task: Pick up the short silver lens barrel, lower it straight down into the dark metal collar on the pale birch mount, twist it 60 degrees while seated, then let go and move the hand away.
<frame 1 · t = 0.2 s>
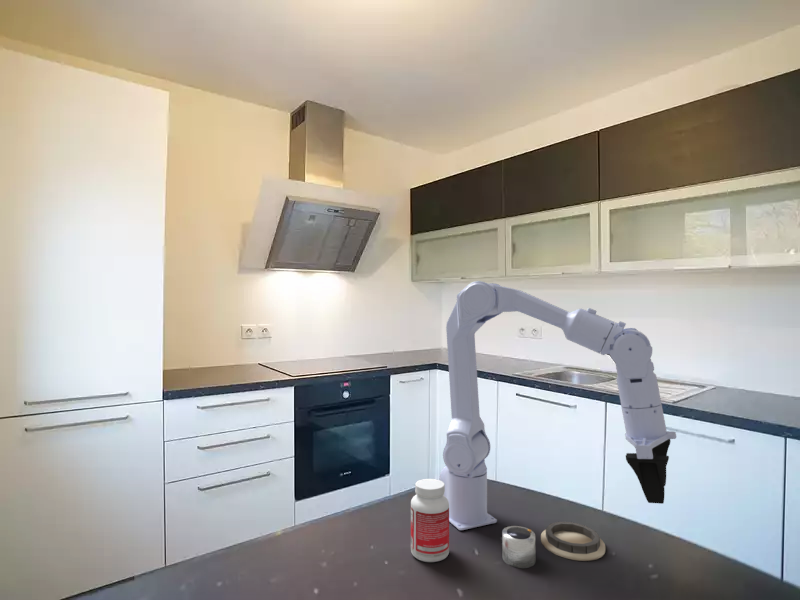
hand: (657, 493, 71), 10 cm above the countertop, tool pointing down, fingers open, 7 cm apart
pill bottle: (429, 554, 73), on the countertop
mount: (572, 544, 76), on the countertop
lens: (518, 559, 72), on the countertop
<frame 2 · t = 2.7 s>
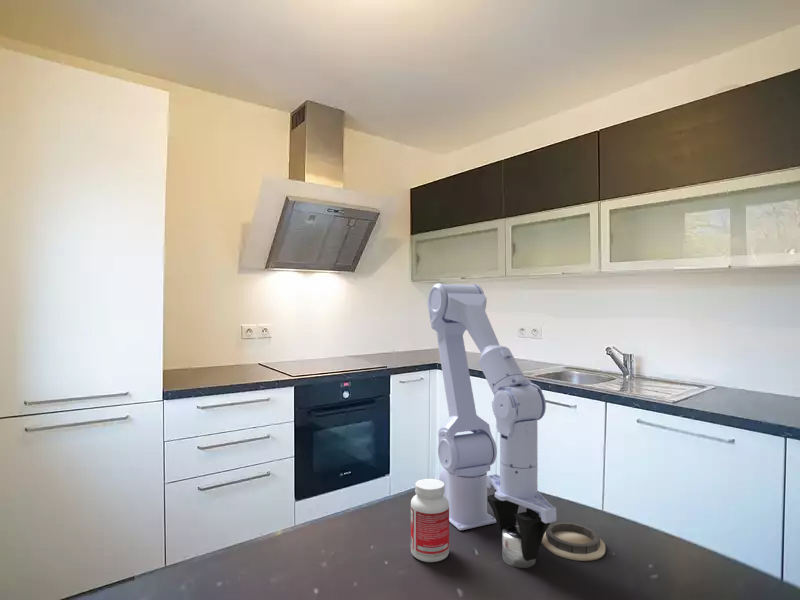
hand: (518, 549, 72), 1 cm above the countertop, tool pointing down, fingers closed on lens, 5 cm apart
lens: (518, 558, 72), on the countertop, touching gripper
everything else where it was.
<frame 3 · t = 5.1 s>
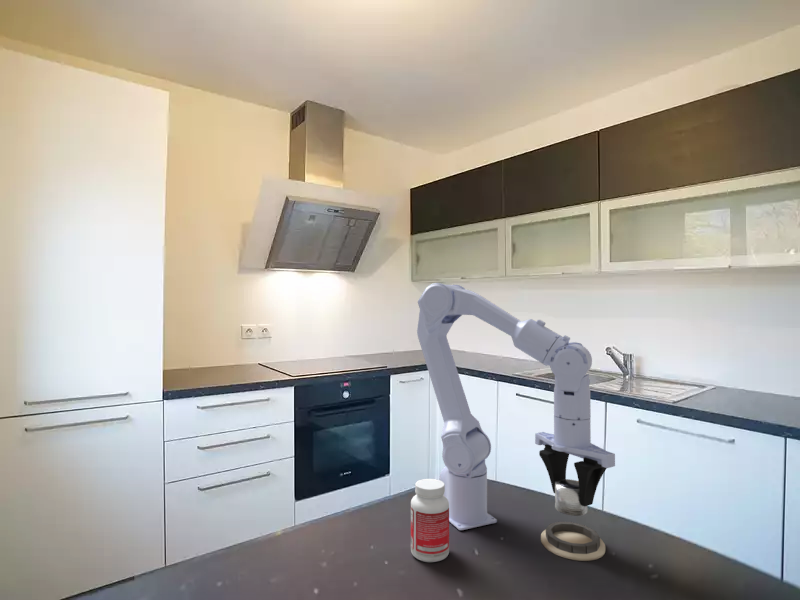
hand: (572, 498, 76), 8 cm above the countertop, tool pointing down, fingers closed on lens, 5 cm apart
lens: (570, 509, 76), point 6 cm above the countertop, touching gripper
everything else where it was.
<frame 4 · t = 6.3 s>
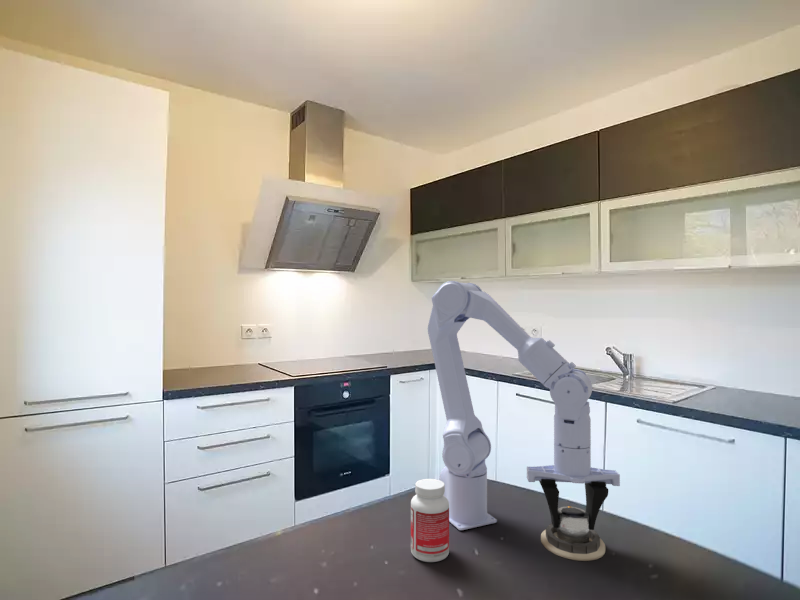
hand: (572, 526, 76), 3 cm above the countertop, tool pointing down, fingers closed on lens, 5 cm apart
lens: (572, 537, 76), point 1 cm above the countertop, touching gripper
everything else where it was.
when the fingers open (3 cm above the countertop, at t = 7.4 s): lens stays where it is, resting on mount.
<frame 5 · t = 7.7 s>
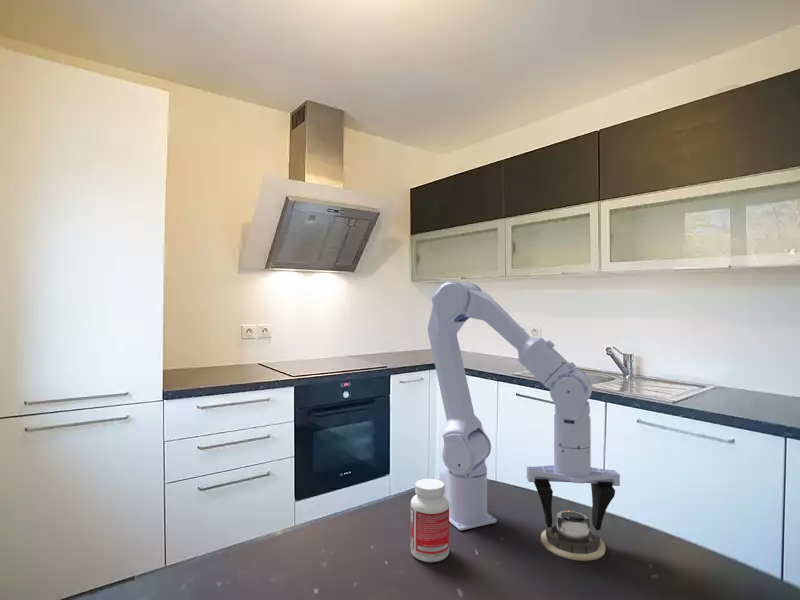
hand: (572, 526, 76), 3 cm above the countertop, tool pointing down, fingers open, 7 cm apart
lens: (572, 541, 76), point 1 cm above the countertop, touching mount
everything else where it was.
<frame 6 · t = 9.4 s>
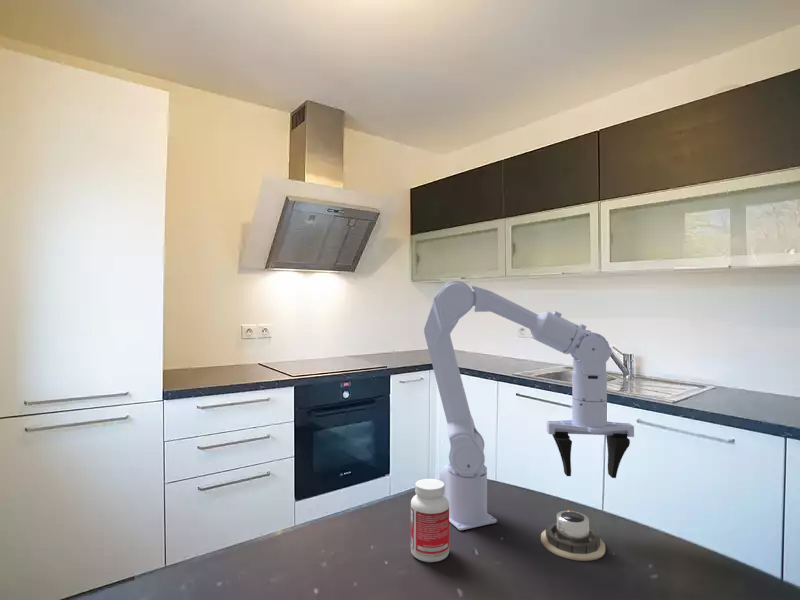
hand: (589, 475, 82), 9 cm above the countertop, tool pointing down, fingers open, 7 cm apart
nothing on the countertop moved.
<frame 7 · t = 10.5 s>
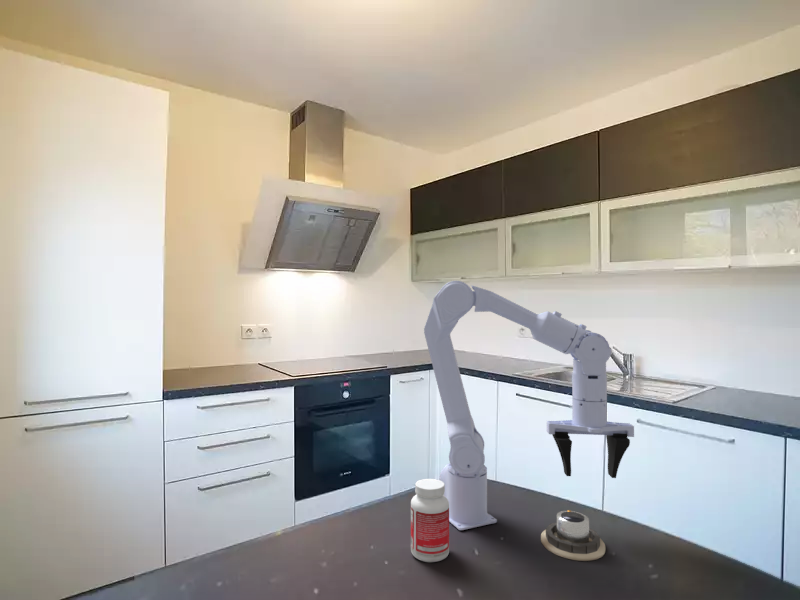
hand: (589, 475, 82), 9 cm above the countertop, tool pointing down, fingers open, 7 cm apart
nothing on the countertop moved.
at the end: lens 0.4 cm off-centre on the mount, point 0.6 cm above the mount's base; lens tilted 0°; the gripper is holding nothing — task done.
